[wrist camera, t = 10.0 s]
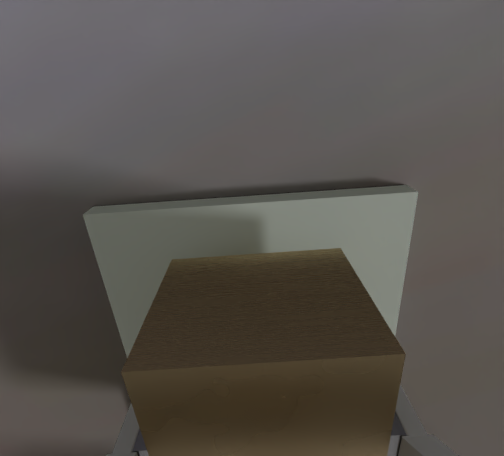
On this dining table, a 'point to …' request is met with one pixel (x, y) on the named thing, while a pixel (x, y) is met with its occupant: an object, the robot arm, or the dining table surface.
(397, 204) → the sage mat
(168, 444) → the tan upright box
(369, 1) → the dining table surface
